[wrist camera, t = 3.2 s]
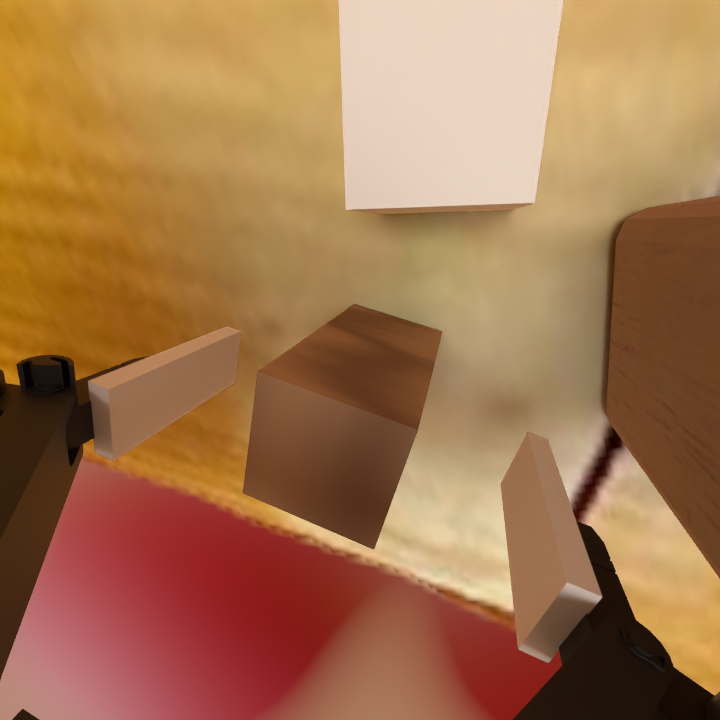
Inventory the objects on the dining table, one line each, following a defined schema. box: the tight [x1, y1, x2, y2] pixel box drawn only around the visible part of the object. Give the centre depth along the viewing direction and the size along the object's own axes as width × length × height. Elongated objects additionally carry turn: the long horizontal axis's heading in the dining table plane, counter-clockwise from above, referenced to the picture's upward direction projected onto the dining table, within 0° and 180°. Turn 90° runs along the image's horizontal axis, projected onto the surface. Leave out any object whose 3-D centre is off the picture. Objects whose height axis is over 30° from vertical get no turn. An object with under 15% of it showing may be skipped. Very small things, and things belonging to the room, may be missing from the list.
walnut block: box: [243, 304, 442, 549], centre depth 16 cm, size 5×5×10 cm
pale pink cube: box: [339, 0, 563, 214], centre depth 13 cm, size 6×6×6 cm
